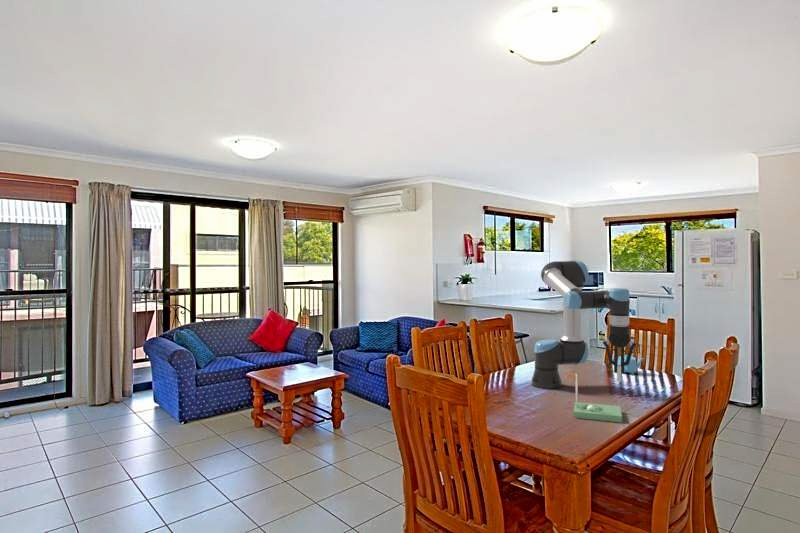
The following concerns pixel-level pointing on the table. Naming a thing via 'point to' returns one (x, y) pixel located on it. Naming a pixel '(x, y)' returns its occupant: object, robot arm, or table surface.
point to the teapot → (630, 364)
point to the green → (601, 411)
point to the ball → (591, 407)
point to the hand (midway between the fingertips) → (618, 380)
